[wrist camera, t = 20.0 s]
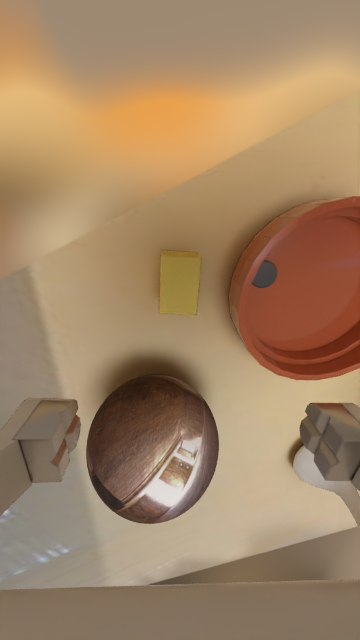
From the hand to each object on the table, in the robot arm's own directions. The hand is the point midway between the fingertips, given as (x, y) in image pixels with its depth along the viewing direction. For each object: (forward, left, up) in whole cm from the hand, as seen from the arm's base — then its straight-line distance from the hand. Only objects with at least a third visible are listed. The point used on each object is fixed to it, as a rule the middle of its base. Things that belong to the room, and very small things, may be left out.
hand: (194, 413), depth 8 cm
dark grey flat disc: (-1, +10, -20) cm, 22 cm away
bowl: (+1, +16, -21) cm, 26 cm away
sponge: (0, 0, -21) cm, 21 cm away
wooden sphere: (+18, -2, -21) cm, 28 cm away
